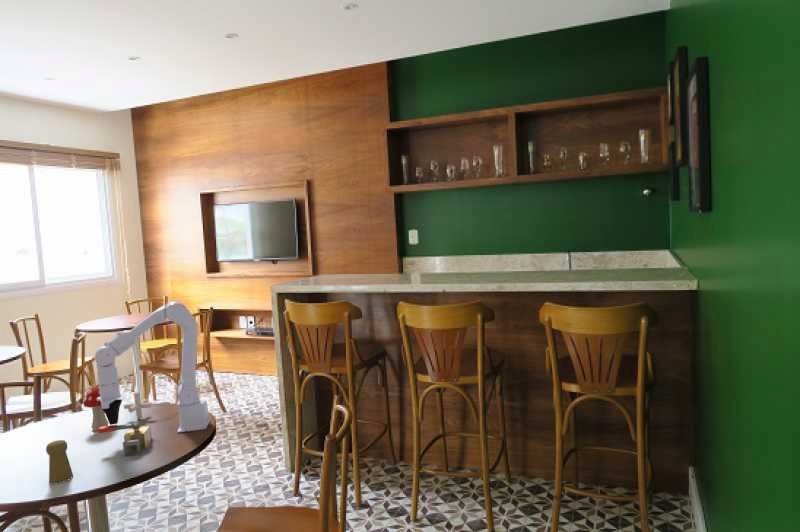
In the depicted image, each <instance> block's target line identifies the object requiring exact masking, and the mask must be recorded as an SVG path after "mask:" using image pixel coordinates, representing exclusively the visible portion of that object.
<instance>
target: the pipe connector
mask: <svg viewBox="0 0 800 532" xmlns="http://www.w3.org/2000/svg"><path fill="white" fill-rule="evenodd" d="M133 397H134V398H133V399H134V403H125V404H124V405H123V409H124V410H128V413H133V412H135V413H136V420H137V419H140V420H142V419H143V412H142V409H150V408H152V407H153V403H152V402H149V401H148V399H147V398H143V399H142V400H141V397H140V391H136V392H133ZM141 418H142V419H141Z"/></svg>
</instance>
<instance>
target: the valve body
mask: <svg viewBox="0 0 800 532" xmlns="http://www.w3.org/2000/svg"><path fill="white" fill-rule="evenodd" d="M151 428H152V427H151V425H150V424H148V425H141V427H139V428H136V429H132V428H130V429H129V430H127V432H126V433H125V434H124V435H123V440H124V441H123V442H122V448H123V449H122V450H123V455H124V457H130V456H132V457H133V456H137V455H140V454H141V451H143V450H146V449H147V448H148V447H149V446H150V444H151V443H152V437H153V436H152V429H151ZM150 442H151V443H150ZM142 449H143V450H142Z"/></svg>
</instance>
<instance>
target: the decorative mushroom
mask: <svg viewBox="0 0 800 532" xmlns="http://www.w3.org/2000/svg"><path fill="white" fill-rule="evenodd" d="M98 397H100V390H99V386H94V387H92V388H90V389H89V390H88V391H87V393H86V395H85V398H84V399H83V406H84V407H86V408H91V411H92V422H91V423H92V424H91V429H92V431H93V432H98V429H99V428H100V427H104V426H109V421H108V419H107V416H106V414H105V413H104V411H103V410H102V409H101V401H97V398H98Z"/></svg>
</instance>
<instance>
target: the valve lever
mask: <svg viewBox="0 0 800 532" xmlns="http://www.w3.org/2000/svg"><path fill="white" fill-rule="evenodd" d="M141 426H142V425H141V422H140V421H136V422H135V421H134V422H133V423H126V424H119V425H117V424H112V425H108V426H104V427H100V428H99V429H98V431H97V433H98V434H103V433H112V432H116V431H120V430H121V431H122V430H128V429H136V428H139V427H141Z"/></svg>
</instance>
